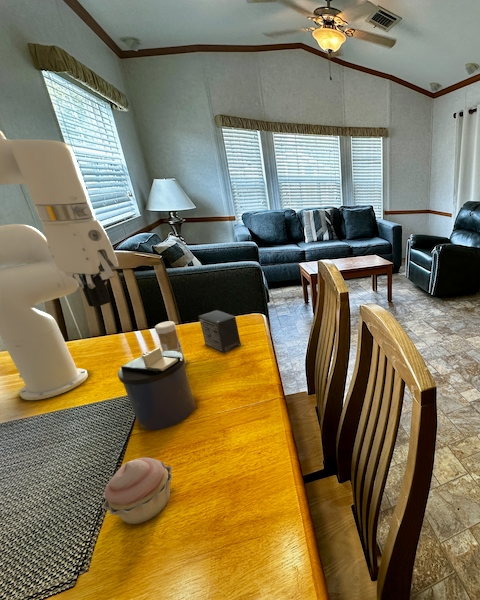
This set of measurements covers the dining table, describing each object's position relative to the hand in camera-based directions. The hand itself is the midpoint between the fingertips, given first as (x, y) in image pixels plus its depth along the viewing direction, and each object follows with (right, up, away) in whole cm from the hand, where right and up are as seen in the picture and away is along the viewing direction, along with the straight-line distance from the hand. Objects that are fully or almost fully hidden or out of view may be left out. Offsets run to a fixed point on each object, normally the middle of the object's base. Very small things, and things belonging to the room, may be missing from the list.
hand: (100, 304), depth 68 cm
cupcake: (+20, -34, -13) cm, 41 cm away
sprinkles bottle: (-2, -18, +27) cm, 32 cm away
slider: (+11, -13, +3) cm, 17 cm away
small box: (+5, -14, +37) cm, 40 cm away
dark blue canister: (+8, -25, +8) cm, 28 cm away
